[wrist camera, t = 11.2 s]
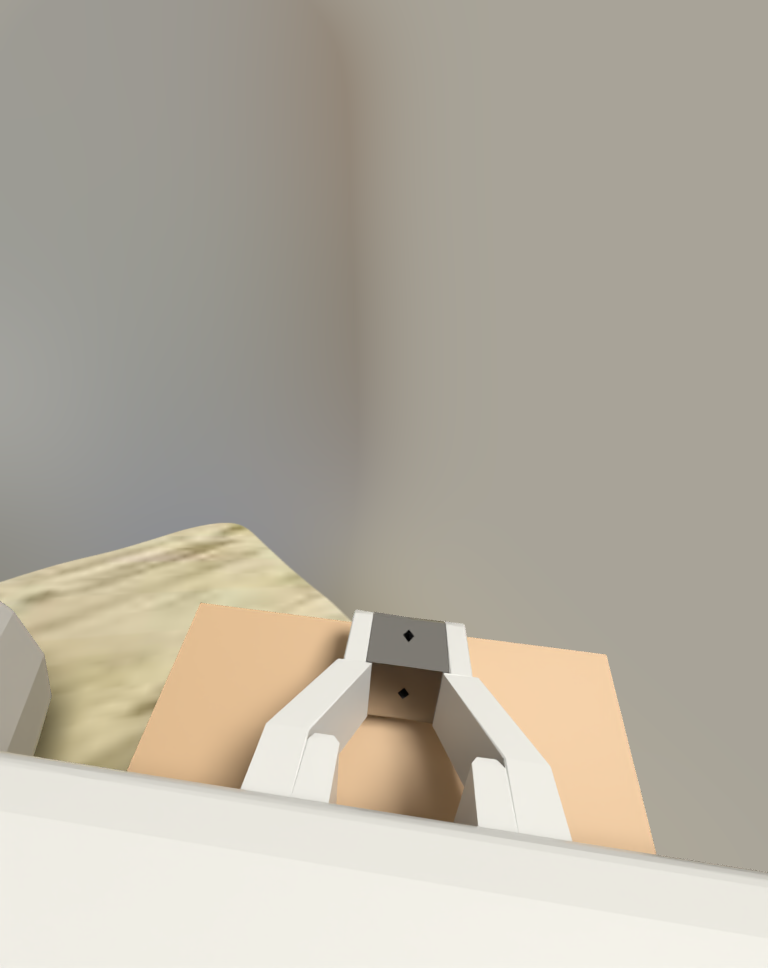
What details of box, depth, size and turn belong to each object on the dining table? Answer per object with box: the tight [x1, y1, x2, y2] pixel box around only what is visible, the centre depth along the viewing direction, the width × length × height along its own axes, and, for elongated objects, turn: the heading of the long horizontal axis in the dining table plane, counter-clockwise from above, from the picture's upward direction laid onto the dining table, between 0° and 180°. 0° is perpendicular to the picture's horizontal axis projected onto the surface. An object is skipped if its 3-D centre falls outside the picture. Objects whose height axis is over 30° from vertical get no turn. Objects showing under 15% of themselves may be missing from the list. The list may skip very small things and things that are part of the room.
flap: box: [127, 603, 656, 854], centre depth 7 cm, size 1×12×11 cm
